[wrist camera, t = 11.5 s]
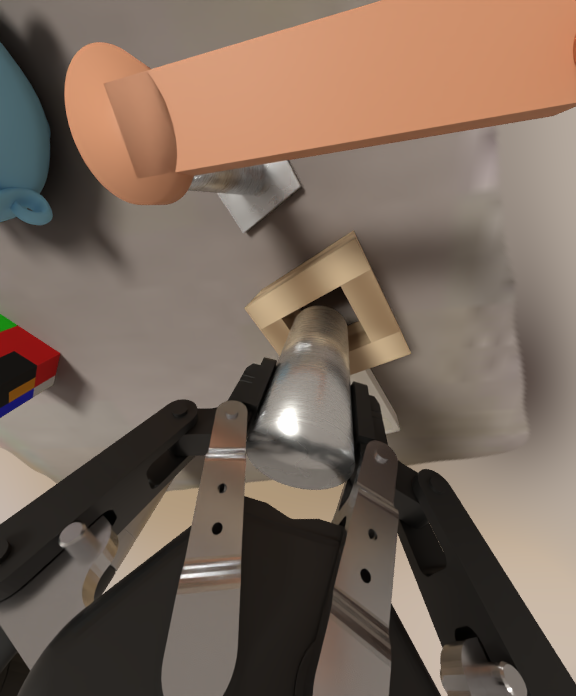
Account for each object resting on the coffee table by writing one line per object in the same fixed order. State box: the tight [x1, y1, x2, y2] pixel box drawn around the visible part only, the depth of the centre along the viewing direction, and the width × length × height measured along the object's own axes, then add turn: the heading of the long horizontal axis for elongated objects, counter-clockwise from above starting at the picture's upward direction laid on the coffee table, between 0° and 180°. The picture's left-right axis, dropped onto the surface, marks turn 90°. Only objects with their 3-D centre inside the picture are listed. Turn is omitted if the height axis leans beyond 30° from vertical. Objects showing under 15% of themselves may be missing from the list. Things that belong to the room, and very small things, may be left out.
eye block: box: [244, 231, 411, 375], centre depth 21 cm, size 10×10×5 cm
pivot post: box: [188, 160, 302, 233], centre depth 14 cm, size 6×6×11 cm
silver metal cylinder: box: [246, 305, 355, 490], centre depth 14 cm, size 4×4×11 cm
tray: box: [350, 368, 401, 434], centre depth 28 cm, size 13×11×2 cm
